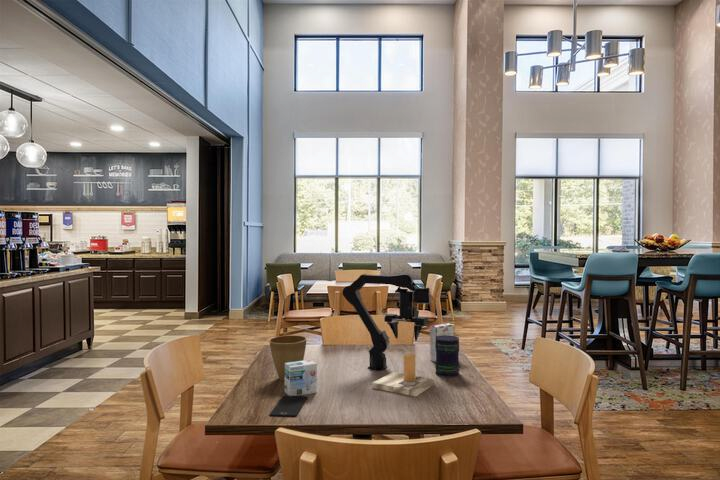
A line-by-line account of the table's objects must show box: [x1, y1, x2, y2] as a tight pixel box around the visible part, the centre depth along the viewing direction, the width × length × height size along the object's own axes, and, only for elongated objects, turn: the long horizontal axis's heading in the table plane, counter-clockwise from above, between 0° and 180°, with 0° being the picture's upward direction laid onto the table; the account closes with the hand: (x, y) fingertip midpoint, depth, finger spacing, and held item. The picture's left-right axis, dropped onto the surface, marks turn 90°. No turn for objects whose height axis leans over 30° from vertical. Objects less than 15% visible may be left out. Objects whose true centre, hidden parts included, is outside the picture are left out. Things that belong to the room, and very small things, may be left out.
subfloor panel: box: [372, 371, 435, 397], centre depth 174 cm, size 18×16×2 cm
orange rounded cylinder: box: [403, 353, 416, 387], centre depth 172 cm, size 4×4×12 cm
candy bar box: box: [429, 322, 455, 363], centre depth 211 cm, size 11×5×16 cm, turn 120°
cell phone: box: [269, 394, 308, 418], centre depth 154 cm, size 9×18×1 cm, turn 175°
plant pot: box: [268, 334, 307, 382], centre depth 184 cm, size 15×15×16 cm
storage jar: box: [434, 335, 460, 378], centre depth 190 cm, size 10×10×15 cm
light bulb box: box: [284, 359, 318, 396], centre depth 168 cm, size 11×7×11 cm, turn 118°
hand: (406, 339), depth 196 cm, fingers open, 9 cm apart
